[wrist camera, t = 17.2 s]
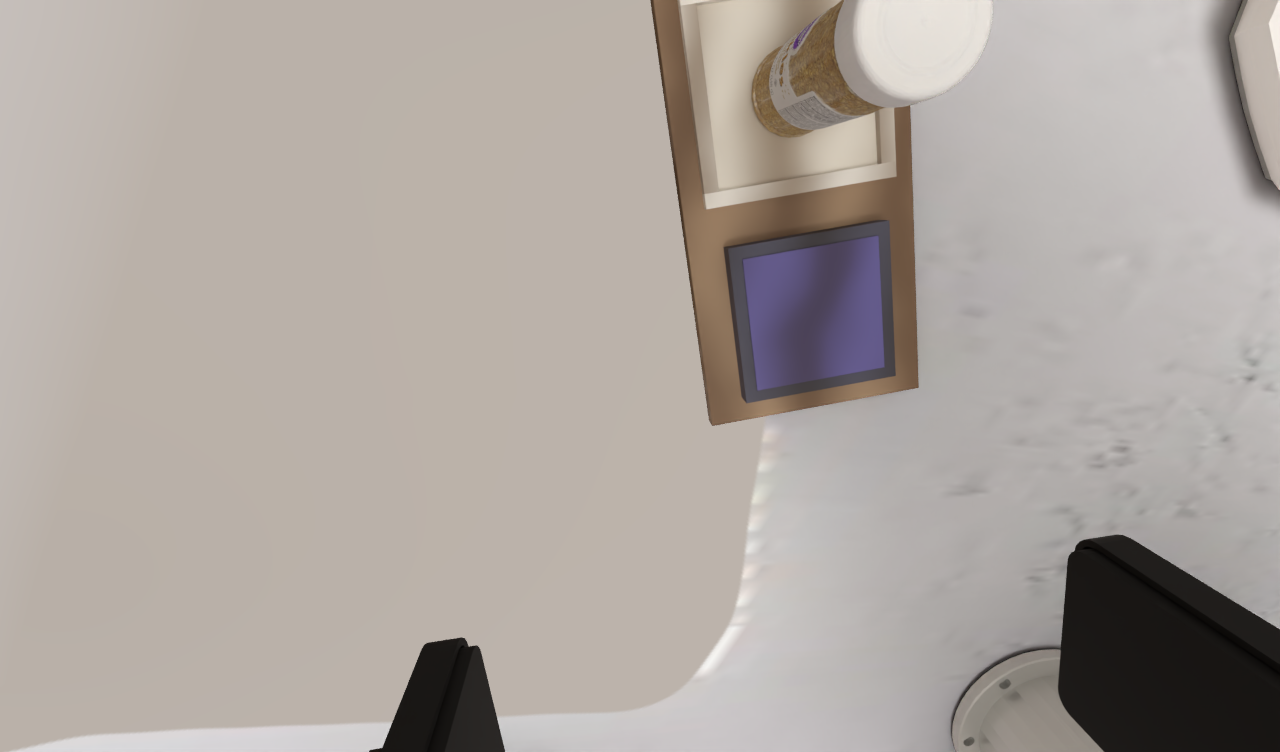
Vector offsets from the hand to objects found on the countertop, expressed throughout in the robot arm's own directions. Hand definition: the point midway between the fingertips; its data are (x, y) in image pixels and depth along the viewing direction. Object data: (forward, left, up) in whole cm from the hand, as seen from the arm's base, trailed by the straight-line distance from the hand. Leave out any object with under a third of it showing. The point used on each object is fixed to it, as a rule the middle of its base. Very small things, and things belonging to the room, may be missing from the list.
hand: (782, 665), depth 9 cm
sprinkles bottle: (-10, -11, -26) cm, 30 cm away
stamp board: (-10, -5, -27) cm, 29 cm away
